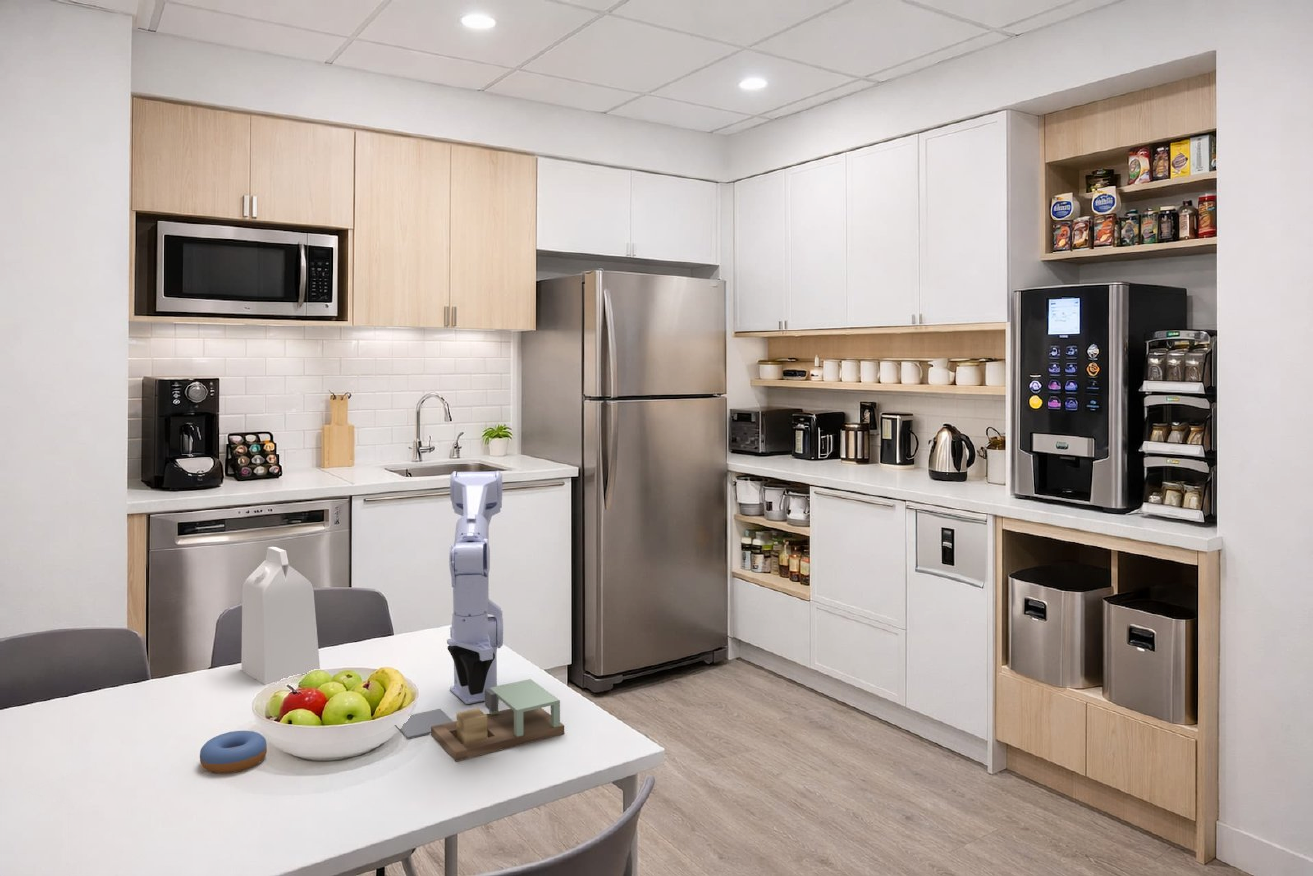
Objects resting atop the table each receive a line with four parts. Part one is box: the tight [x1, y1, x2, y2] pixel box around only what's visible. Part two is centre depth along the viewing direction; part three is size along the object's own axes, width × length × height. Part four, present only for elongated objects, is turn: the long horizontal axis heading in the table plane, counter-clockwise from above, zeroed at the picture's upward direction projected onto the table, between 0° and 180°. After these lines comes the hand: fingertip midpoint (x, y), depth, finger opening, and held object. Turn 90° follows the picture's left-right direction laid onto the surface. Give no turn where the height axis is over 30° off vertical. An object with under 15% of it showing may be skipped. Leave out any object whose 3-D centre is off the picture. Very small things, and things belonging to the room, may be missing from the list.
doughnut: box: [199, 730, 268, 774], centre depth 143 cm, size 10×10×5 cm
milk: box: [240, 546, 321, 686], centre depth 184 cm, size 12×12×26 cm
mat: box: [399, 708, 454, 740], centre depth 158 cm, size 9×9×1 cm
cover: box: [484, 678, 561, 737], centre depth 157 cm, size 12×9×5 cm
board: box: [430, 708, 565, 762], centre depth 154 cm, size 12×20×2 cm, turn 123°
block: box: [456, 707, 488, 744], centre depth 151 cm, size 4×4×5 cm
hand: (471, 689), depth 150 cm, fingers open, 4 cm apart
